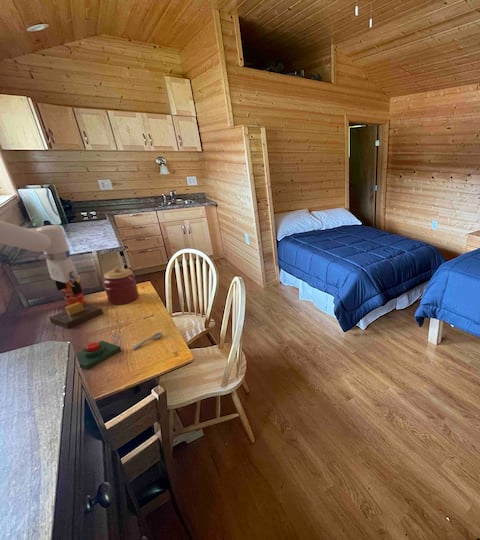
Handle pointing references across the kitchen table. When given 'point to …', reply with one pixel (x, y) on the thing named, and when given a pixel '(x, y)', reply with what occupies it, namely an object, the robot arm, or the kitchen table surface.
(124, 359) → the kitchen table surface
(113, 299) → the kitchen canister
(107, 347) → the button box
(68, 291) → the coffee cup
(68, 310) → the latch
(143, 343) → the spoon
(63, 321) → the plate
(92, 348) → the button
